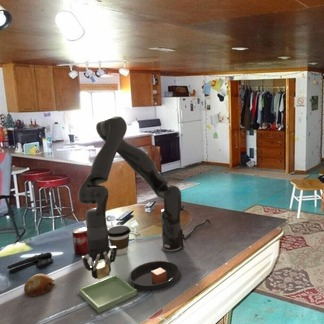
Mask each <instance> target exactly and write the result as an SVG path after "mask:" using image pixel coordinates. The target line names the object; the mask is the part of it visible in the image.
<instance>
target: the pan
mask: <svg viewBox="0 0 324 324" xmlns="http://www.w3.org/2000/svg"><path fill="white" fill-rule="evenodd" d="M158 268H162V269H163V270H165V271H166V277H167V281H165V282H163V283H159V284H156V283H154V282H153V281H152V275H151V271H153V270H156V269H158ZM128 279H129V285H130V286H132V287H133V288H134V289H136V290H137V291H140V292H157V291H161V290H164V289H167V288H169V287H172V285H174V284H175V283H176V282H177V281H178V280H179V279H180V268H179V267H178V265H177V264H175V263H174V262H172V261H171V262H170V261H168V260H167V261H166V260H154V261H149V262H145V263H142V264H139V265H138V266H136V267H134V268H133V269H132V270H131V271H130V272H129V277H128Z"/></svg>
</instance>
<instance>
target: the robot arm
mask: <svg viewBox="0 0 324 324" xmlns="http://www.w3.org/2000/svg"><path fill="white" fill-rule="evenodd" d="M95 129H96V133H97V134H98V136H99V137H100V139H102V141H104V143H103V145H102V146H101V148H100V149H99V151H98V152H97V154H96V155H95V157H94V159H93V162H92V165H91V167H90V170H89V174H88V175H87V176H86V178H85V180H84V181H83V183H82V184H81V186H80V187H79V188H78V189H79V190H78V193H77V199H78V201H79V202H80V203H81V204H84V205H96V207H93V208H90V209H87V210H86V212H85V223H86V228H87V240H88V249H89V251H88V254H87V255H83V256H80V260H81V262H82V264H83V266H84V268H85V269H86V270H87V271H88V272H90V273H91V277H92V278H93V279H95V280H98V279H97V270H96V267H97V265H98V264H99V262H100V261H102V260H103V262H105V263H106V264H108V265H109V273H110V274H111V272H112V263H115V262H116V259H117V258H116V257H117V255H116V253H117V248H116V247H115V246H112V247H111V245H110V240H109V236H108V230H109V228H108V226H107V225H108V224H107V214H106V213H107V205H108V200H109V195H110V193H109V190H108V188H107V186H105V185H102V184H105V183H106V182H108V180H109V177H110V174H111V170H112V166H113V163H114V160H115V157H116V155H117V154H118V155H119V156H120V157H121V158H122V159H123V160H124V162H126V164H127V165H128V166H129V167H130V168H131V169H132V170H133V171H134V172H135V173H136V175H138V176H139V177H140V178H141V180H143V181H144V182H145V183H146V184H147V185H148V186H149V187H150V188H151V190H152V191H153V193H154V194H155V195H156V197H157V198H158V199H159V200H160V201H161V202H163V209H161V211H160V223H161V237H162V251H165V252H169V253H170V252H177V251H180V250H181V249H182V248H184V240H186V239H187V238H188V237H189V236H191V235H192V234H193V232H194V230H195V228H198V227H200V226H203V225H204V224H205V223H206V222H207V221H208V222H209V221H210V219H208V218H206V219H205V220H204V221H203V222H201V223H199V224H197V225H195V226H194V227H192V229H191V231H190V232H189V233H188V235H185V234H183V233H184V231H183V228H182V227H181V226H182V225H181V211H182V191H181V189H180V187H178V186H176V185H174V184H172V183H170V182H168V180H166V178H164V177H163V176H162V175H161V174H160V172H159V169H158V168H157V165H156V164H155V161H154V160H153V159H152V158H151V156H149V154H148V153H147V152H146V151H144V150H143V149H142V148H139V147H138V146H135V145H133V144H131V143H129V142H127V141H126V140H125V139H124V138H125V136H126V133H127V131H128V130H127V129H128V126H127V122H126V120H125V119H124V117H122V116H120V115H111V116H109V117H106V118H104V119H102V120H100V121H98V122H97V123H96V125H95ZM109 253H110V254H109ZM108 255H109V256H108ZM89 260H90V263H89Z"/></svg>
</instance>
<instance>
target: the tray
mask: <svg viewBox="0 0 324 324" xmlns="http://www.w3.org/2000/svg"><path fill="white" fill-rule="evenodd" d="M78 291H79V295H80V297H81V298H83V299H84V300H85V301H86V303H88V304H89V306H91V307H92V308H93V309H94V310H95V311H96V312H97V313H98V314H100V313H102V312H104V311H107V310H109V309H111V308H113V307H115V306H117V304H120V303H122V302H124V301H127V300H128V299H130V298H133V297H134V296H137V295H138V290H137V289H134V288H133V287H132V286H131V285H130V283H128V282H127V281H126V280H124V279H123V278H121V277H120V276H119V275H117V274H113V275H112V276H111V275H110V276H108V277H105V278H103V279H100V280H98V281H97V282H94V283H92V284H89V285H86V286H84V287H81V288H80V289H78Z"/></svg>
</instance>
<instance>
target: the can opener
mask: <svg viewBox="0 0 324 324" xmlns="http://www.w3.org/2000/svg"><path fill="white" fill-rule="evenodd" d="M53 264H54V258H53V254H52V252H51V251H48V252H40V253H39V254H34V255H33V256H29V257H27V258H24V259H21V260H18V261H16V262H14V263H11V264H8V265H7V267H6V268H7V269H9V271H8V274H13V273H18V272H20V271H23V270H26V269H29V268H31V267H33V266H36V268H37V269H43V268H47V267H50V266H51V265H53Z"/></svg>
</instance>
